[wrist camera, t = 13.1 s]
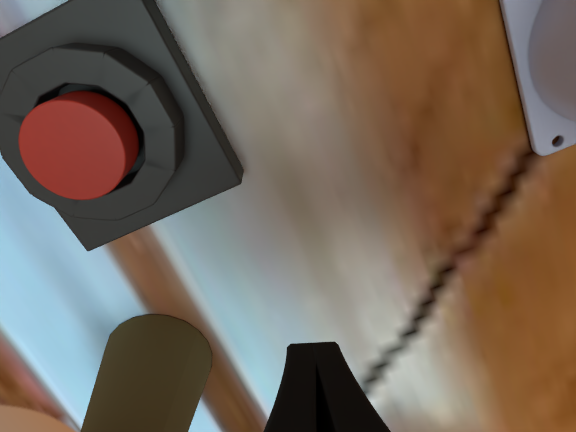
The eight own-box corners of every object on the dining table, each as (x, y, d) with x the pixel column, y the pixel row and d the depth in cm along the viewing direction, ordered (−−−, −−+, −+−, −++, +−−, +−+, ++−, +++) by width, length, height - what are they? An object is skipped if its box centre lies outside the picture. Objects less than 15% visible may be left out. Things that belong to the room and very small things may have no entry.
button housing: (139, -29, 17) (108, -36, 14) (244, 170, 21) (239, 200, 18) (-27, 62, 18) (-89, 73, 15) (100, 235, 22) (70, 274, 19)
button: (103, 73, 16) (85, 80, 14) (157, 160, 17) (145, 176, 16) (21, 115, 16) (-6, 127, 15) (80, 197, 18) (61, 215, 16)
